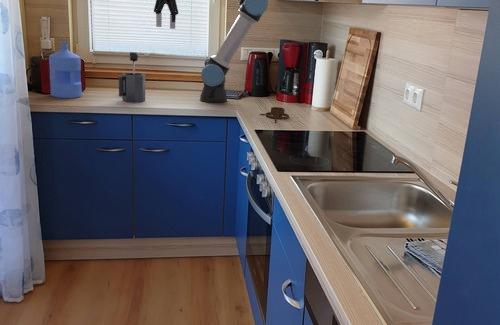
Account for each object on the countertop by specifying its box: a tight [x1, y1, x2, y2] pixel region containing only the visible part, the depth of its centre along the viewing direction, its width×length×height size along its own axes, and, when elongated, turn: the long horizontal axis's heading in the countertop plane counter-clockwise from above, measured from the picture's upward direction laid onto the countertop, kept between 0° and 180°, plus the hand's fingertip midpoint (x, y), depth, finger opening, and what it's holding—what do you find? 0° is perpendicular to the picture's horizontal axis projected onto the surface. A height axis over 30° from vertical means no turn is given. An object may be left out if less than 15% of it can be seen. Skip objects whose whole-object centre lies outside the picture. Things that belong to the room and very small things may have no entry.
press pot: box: [118, 72, 146, 104], centre depth 267 cm, size 14×11×14 cm
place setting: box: [259, 106, 290, 124], centre depth 251 cm, size 18×20×6 cm
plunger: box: [129, 51, 139, 76], centre depth 266 cm, size 8×8×20 cm
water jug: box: [48, 41, 83, 99], centre depth 266 cm, size 16×16×28 cm
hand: (165, 27), depth 262 cm, fingers open, 13 cm apart
